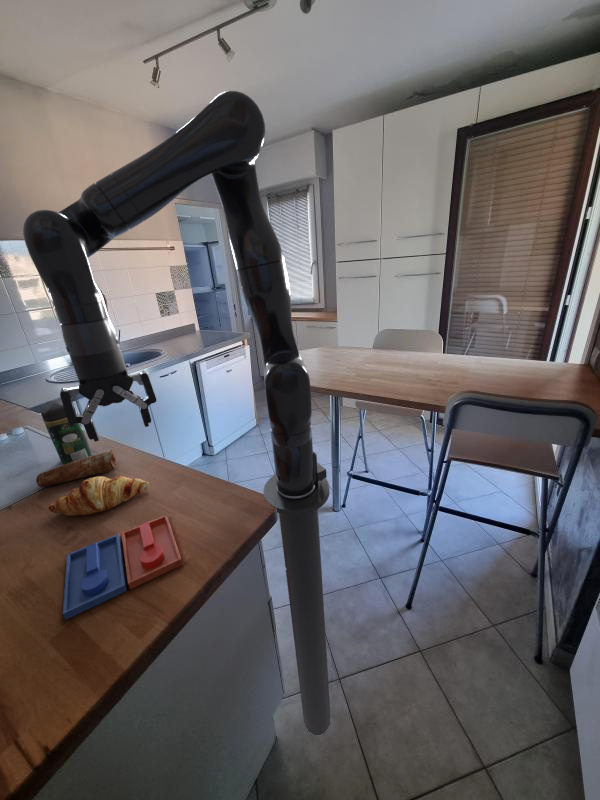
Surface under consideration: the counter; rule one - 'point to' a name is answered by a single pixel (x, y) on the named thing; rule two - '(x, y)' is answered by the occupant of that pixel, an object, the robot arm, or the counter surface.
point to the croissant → (98, 495)
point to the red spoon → (149, 548)
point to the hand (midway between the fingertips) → (122, 432)
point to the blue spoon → (93, 572)
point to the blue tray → (77, 571)
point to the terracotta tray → (135, 548)
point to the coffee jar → (65, 433)
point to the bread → (78, 469)
